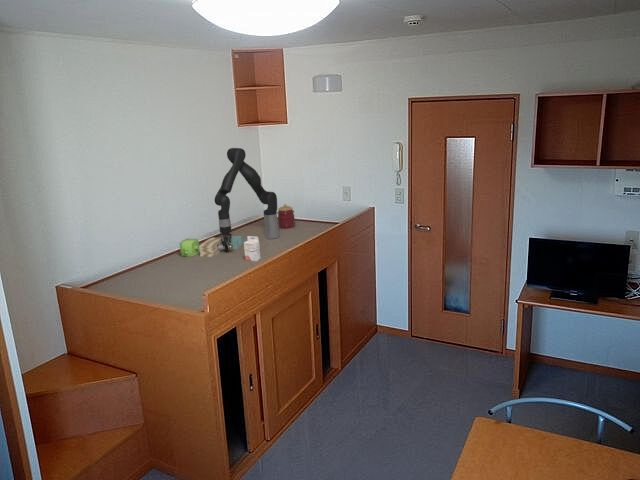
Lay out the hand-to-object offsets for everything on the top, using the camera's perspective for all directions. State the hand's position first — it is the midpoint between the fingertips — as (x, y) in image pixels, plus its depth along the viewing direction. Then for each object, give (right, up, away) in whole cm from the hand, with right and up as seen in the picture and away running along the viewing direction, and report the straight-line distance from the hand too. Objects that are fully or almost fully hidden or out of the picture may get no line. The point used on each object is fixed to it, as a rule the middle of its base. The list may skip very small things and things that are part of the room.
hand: (228, 250), depth 355 cm
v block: (+2, +3, +13) cm, 14 cm away
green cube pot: (-25, -3, +1) cm, 25 cm away
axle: (-6, +1, +1) cm, 6 cm away
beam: (-10, -1, +2) cm, 11 cm away
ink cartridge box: (+19, -6, -21) cm, 29 cm away
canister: (+35, +17, +60) cm, 72 cm away
